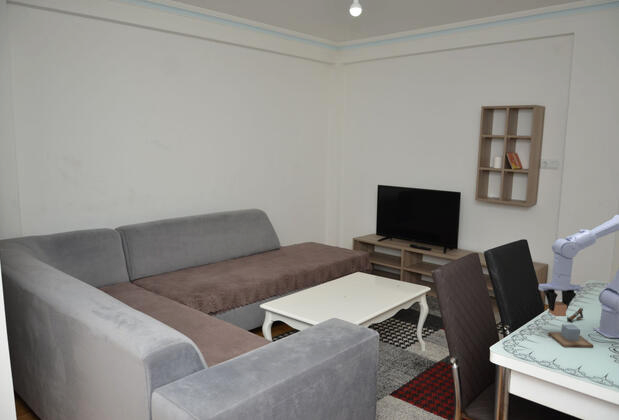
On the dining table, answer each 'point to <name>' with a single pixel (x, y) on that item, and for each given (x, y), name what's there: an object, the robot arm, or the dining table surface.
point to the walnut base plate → (570, 341)
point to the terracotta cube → (559, 309)
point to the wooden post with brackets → (576, 315)
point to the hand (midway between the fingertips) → (557, 310)
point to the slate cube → (570, 332)
